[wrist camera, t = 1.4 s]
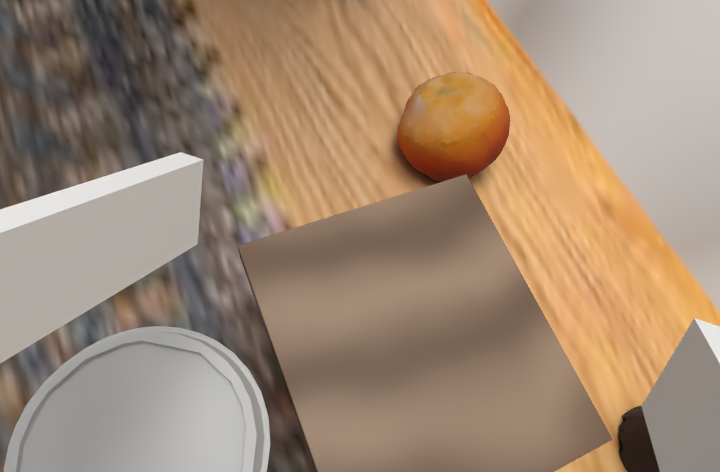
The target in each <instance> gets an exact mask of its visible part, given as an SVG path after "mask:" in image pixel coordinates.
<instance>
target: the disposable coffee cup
mask: <svg viewBox="0 0 720 472" xmlns="http://www.w3.org/2000/svg"><path fill="white" fill-rule="evenodd" d="M269 452H270V430H269V418H268V414H267V410H266V407H265V403H264V400H263V396H262V393H261V391H260V389H259V387H258V385H257V383H256V382H255V380H254V378H253V376H252V375H251V373H250V371H249V369H248V368H247V367H246V366H245V365H244V364H243V363H242V362H241V361H240V359H239V358H238V357H237V356H236V355H235V354H234V353H233V352H231V351H230V350H229V349H227V348H226V347H225V346H223V345H222V344H220V343H219V342H218V341H216V340H214V339H212V338H209V337H207V336H205V335H203V334H201V333H198V332H194V331H191V330H187V329H183V328H175V327H164V326H155V327H142V328H137V329H132V330H127V331H124V332H121V333H118V334H114V335H111V336H108V337H106V338H104V339H102V340H100V341H98V342H96V343H94V344H92V345H90V346H88V347H87V348H85V349H83V350H82V351H80V352H79V353H78V354H76V355H75V356H74V357H72V358H71V359H69V360H68V361H66V362H65V363H64V364H63V365H62V366H61V367H60V368H58V369H57V370H56V371H55V372H54V373H53V374H52V375H51V376H50V377H48V378H47V379H46V380H45V382H44V383H43V384H42V385H41V387H40V388H39V389H38V391H37V392H36V393H35V394H34V396H33V397H32V398H31V399H30V401H29V402H28V403H27V405H26V407H25V409H24V411H23V413H22V415H21V416H20V418H19V420H18V422H17V424H16V426H15V429H14V431H13V434H12V436H11V439H10V442H9V446H8V451H7V456H6V460H5V465H4V472H267V466H268V459H269Z"/></svg>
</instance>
